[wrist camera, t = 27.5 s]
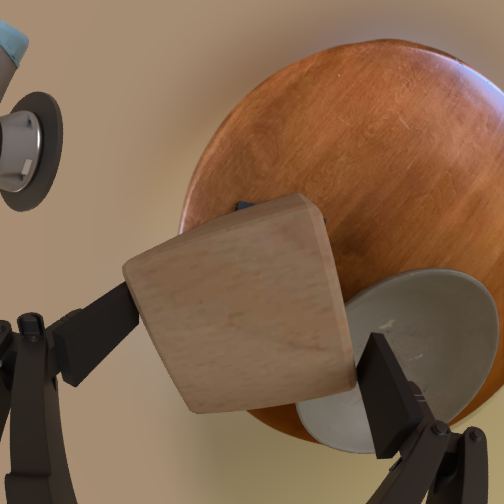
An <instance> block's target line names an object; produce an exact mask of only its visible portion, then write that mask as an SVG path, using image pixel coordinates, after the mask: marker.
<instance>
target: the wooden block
mask: <svg viewBox="0 0 504 504" xmlns="http://www.w3.org/2000/svg"><path fill="white" fill-rule="evenodd" d="M122 272H123V276H124V278H125V281H126V283H127V286H128V288H129V291H130V293H131V295H132V298H133V300H134V303H135V305H136V307H137V309H138V312H139V314H140V316H141V319H142V321H143V323H144V325H145V327H146V329H147V331H148V334H149V336H150V338H151V340H152V342H153V344H154V346H155V348H156V350H157V352H158V354H159V356H160V358H161V360H162V361H163V364H164V366H165V367H166V370H167V371H168V373H169V375H170V377H171V379H172V381H173V382H174V384H175V386H176V388H177V389H178V391H179V393H180V395H181V396H182V398H183V400H184V402H185V403H186V405H187V407H188V408H189V410H190V411H192V412H193V413H196V414H202V413H203V414H204V413H220V412H232V411H241V410H251V409H259V408H266V407H273V406H280V405H286V404H291V403H297V402H302V401H307V400H312V399H317V398H322V397H326V396H331V395H335V394H339V393H343V392H347V391H351V390H352V389H354V388H355V387H356V383H357V380H358V378H357V372H356V366H355V360H354V354H353V348H352V342H351V337H350V332H349V326H348V321H347V316H346V311H345V306H344V302H343V297H342V293H341V288H340V284H339V279H338V275H337V271H336V266H335V262H334V258H333V254H332V250H331V246H330V242H329V239H328V235H327V231H326V227H325V224H324V220H323V216H322V213H321V211H320V210H319V209H318V207H317V206H316V205H315V204H314V203H312V202H311V201H310V200H309V199H307V198H306V197H305V196H303V195H302V194H301V193H294V194H290V195H287V196H284V197H280V198H277V199H273V200H270V201H267V202H264V203H260V204H257V205H254V206H251V207H247V208H244V209H241V210H238V211H235V212H232V213H229V214H225V215H222V216H219V217H217V218H215V219H213V220H210V221H208V222H206V223H204V224H202V225H200V226H197V227H195V228H193V229H191V230H189V231H187V232H185V233H182V234H180V235H178V236H176V237H174V238H172V239H170V240H168V241H166V242H164V243H162V244H160V245H158V246H156V247H153V248H152V249H149V250H147V251H145V252H143V253H141V254H139V255H137V256H135V257H133V258H131V259H129V260H128V261H127V262H126V263H125V264H124V265H123V267H122Z"/></svg>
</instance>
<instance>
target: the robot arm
mask: <svg viewBox="0 0 504 504" xmlns="http://www.w3.org/2000/svg"><path fill="white" fill-rule="evenodd" d="M28 44H29V40H28V37H27V36H26V35H25V34H24V33H22V32H21V31H19V30H18V29H16V28H14V27H13V26H11V25H9V24H7V23H6V22H4V21H2V20H0V103H1V100H2V98H3V96H4V93H5V92H6V89H7V87H8V85H9V83H10V81H11V79H12V77H13V75H14V73H15V71H16V69H17V68H18V67H19V63H20V61H21V59H22V57H23V55H24V53H25V52H26V49H27V47H28ZM43 148H44V129H43V124H42V121H41V119H40V117H39V116H38V114H36V113H35V112H33V111H26V110H24V111H19V112H15V113H12V114H8V115H5V116H2V117H0V189H3V190H6V191H9V192H18V191H23V190H25V189H26V188H28V187H29V186H30V184H31V183H32V182H33V180H34V178H35V176H36V174H37V172H38V169H39V167H40V163H41V160H42V155H43ZM17 324H18V328H19V332H20V334H19V333H16V332H12V328H11V324H10V323H9V322H8V321H5V320H0V441H1V437H2V434H3V430H4V427H5V423H6V420H7V417H8V414H9V411H10V408H11V413H10V458H11V472H10V473H9V474H6V475H5V491H6V499H7V504H77V501H76V497H75V493H74V490H73V486H72V482H71V478H70V473H69V469H68V464H67V459H66V454H65V448H64V442H63V435H62V428H61V419H60V410H59V397H58V381H57V377H56V375H57V374H58V373H59V372H61V374H62V378H63V381H65V382H66V383H68V384H70V385H72V386H73V387H77V386H78V385H79V384H80V383H81V382H82V381H83V380H84V379H85V378H86V377H87V376H88V374H89V373H90V372H91V371H92V370H93V369H94V368H95V367H96V366H97V365H98V364H99V363H100V362H101V361H102V360H103V359H104V358H105V357H106V356H107V355H108V354H109V353H110V352H111V351H112V350H113V349H114V348H115V347H116V346H117V345H118V344H119V343H120V342H121V341H122V340H123V339H124V338H125V337H126V336H127V335H128V334H129V333H130V332H131V331H132V330H133V329H134V328H135V327H136V326H137V325H138V324H139V312H138V309H137V307H136V305H135V303H134V300H133V298H132V295H131V293H130V291H129V288H128V286H127V283H126V281H125V282H123V283H122V284H120V285H118V286H117V287H115V288H114V289H112V290H111V291H109V292H108V293H106V294H105V295H103V296H102V297H100V298H99V299H97V300H96V301H94V302H93V303H91V304H90V305H89V306H87V307H86V308H84V309H76V310H74V311H71V312H69V313H68V314H66V315H65V317H64V316H63V317H62V318H61V319H60V320H58V321H56V322H55V323H53V324H52V325H50V326H49V327H47V328H46V329H45V327H44V322H43V317H42V316H41V315H40V314H38V313H33V312H30V313H25V314H22V315H21V316H19V317H18V319H17ZM356 372H357V378H358V380H357V382H358V385H359V389H360V392H361V396H362V400H363V404H364V407H365V411H366V415H367V419H368V423H369V427H370V431H371V435H372V440H373V444H374V448H375V453H376V457H377V459H388V458H393V456H394V455H395V454H396V453H397V452H398V451H399V452H400V455H401V457H400V458H399V459H398V461H396V463H395V464H394V465H393V466H392V467H391V468H390V469H389V471H390V472H389V474H388V475H387V477H386V478H385V479H384V481H383V482H382V483H381V485H380V486H379V488H378V489H377V490H376V492H375V493H374V494H373V496H372V497H371V498H370V499H369V500H368V502H367V503H366V504H421V502H422V501H423V499H424V497H425V495H426V493H427V491H428V489H429V491H428V496H427V500H426V504H487V503H488V454H487V440H486V436H485V434H484V432H483V431H482V430H481V429H479V428H477V427H473V426H471V427H468V428H467V429H466V430H465V431H464V433H463V434H459V433H453V432H451V430H450V428H449V426H448V425H447V424H446V423H444V422H443V421H440V420H435V418H434V416H433V414H432V412H431V410H430V408H429V406H428V404H427V402H426V400H425V398H424V396H423V394H422V392H421V390H420V388H419V387H418V386H417V385H416V384H415V383H414V382H413V381H408V380H407V378H406V376H405V374H404V372H403V370H402V368H401V366H400V365H399V363H398V361H397V359H396V357H395V355H394V353H393V351H392V349H391V347H390V346H389V344H388V342H387V340H386V338H385V336H384V334H382V333H375V332H371V334H370V336H369V339H368V341H367V343H366V346H365V348H364V351H363V353H362V355H361V358H360V360H359V362H358V365H357V367H356Z"/></svg>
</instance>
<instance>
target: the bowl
mask: <svg viewBox="0 0 504 504" xmlns="http://www.w3.org/2000/svg"><path fill="white" fill-rule="evenodd" d="M344 306H345V311H346V316H347V321H348V326H349V332H350V337H351V342H352V348H353V354H354V360H355V366H356V367H357V365H358V362H359V360H360V358H361V355H362V353H363V351H364V348H365V346H366V343H367V341H368V339H369V336H370V334H371V332H375V333H382V334H384V336H385V338H386V340H387V342H388V344H389V346H390V347H391V349H392V351H393V353H394V355H395V357H396V359H397V361H398V363H399V365H400V366H401V368H402V370H403V372H404V374H405V376H406V378H407V380H408V381H413V382H414V383H415V384H416V385H417V386H418V387H419V388H420V390H421V392H422V394H423V396H424V398H425V400H426V402H427V404H428V406H429V408H430V410H431V412H432V414H433V416H434V418H435V420H440V421H443V422H444V423H448V422H449V421H451V420H452V419H453V418H455V417H456V416H457V415H458V414H459V413H460V412H461V411H462V410H463V409H464V408H465V407H466V406H467V405H468V404H469V402H470V401H471V400H472V399H473V397H474V396H475V395H476V394H477V392H478V391H479V389H480V388H481V386H482V385H483V383H484V381H485V379H486V378H487V376H488V374H489V372H490V369H491V367H492V364H493V362H494V359H495V355H496V352H497V347H498V342H499V320H498V313H497V308H496V305H495V302H494V300H493V298H492V296H491V294H490V293H489V291H488V290H487V289H486V287H485V286H484V285H483V284H482V283H480V282H479V281H478V280H476V279H475V278H473V277H472V276H470V275H468V274H466V273H464V272H461V271H458V270H454V269H449V268H436V267H433V268H419V269H413V270H409V271H405V272H401V273H398V274H395V275H392V276H390V277H387V278H385V279H382V280H380V281H378V282H376V283H374V284H372V285H370V286H368V287H367V288H365V289H363V290H362V291H360V292H359V293H357V294H356V295H354V296H353V297H352V298H350V299H349V300H348V301H347V302H345V303H344ZM295 404H296V409H297V412H298V415H299V418H300V420H301V422H302V424H303V425H304V427H305V428H306V430H307V431H308V433H309V434H310V435H312V437H313V438H315V439H316V440H317V441H319V442H320V443H322V444H324V445H325V446H328V447H330V448H333V449H336V450H339V451H344V452H348V453H358V454H374V453H375V448H374V444H373V440H372V435H371V431H370V427H369V423H368V419H367V415H366V411H365V407H364V404H363V400H362V396H361V392H360V389H359V385H358V382H357V383H356V387H355V388H354V389H352V390H351V391H347V392H343V393H339V394H335V395H331V396H326V397H322V398H317V399H312V400H307V401H302V402H297V403H295Z"/></svg>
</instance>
